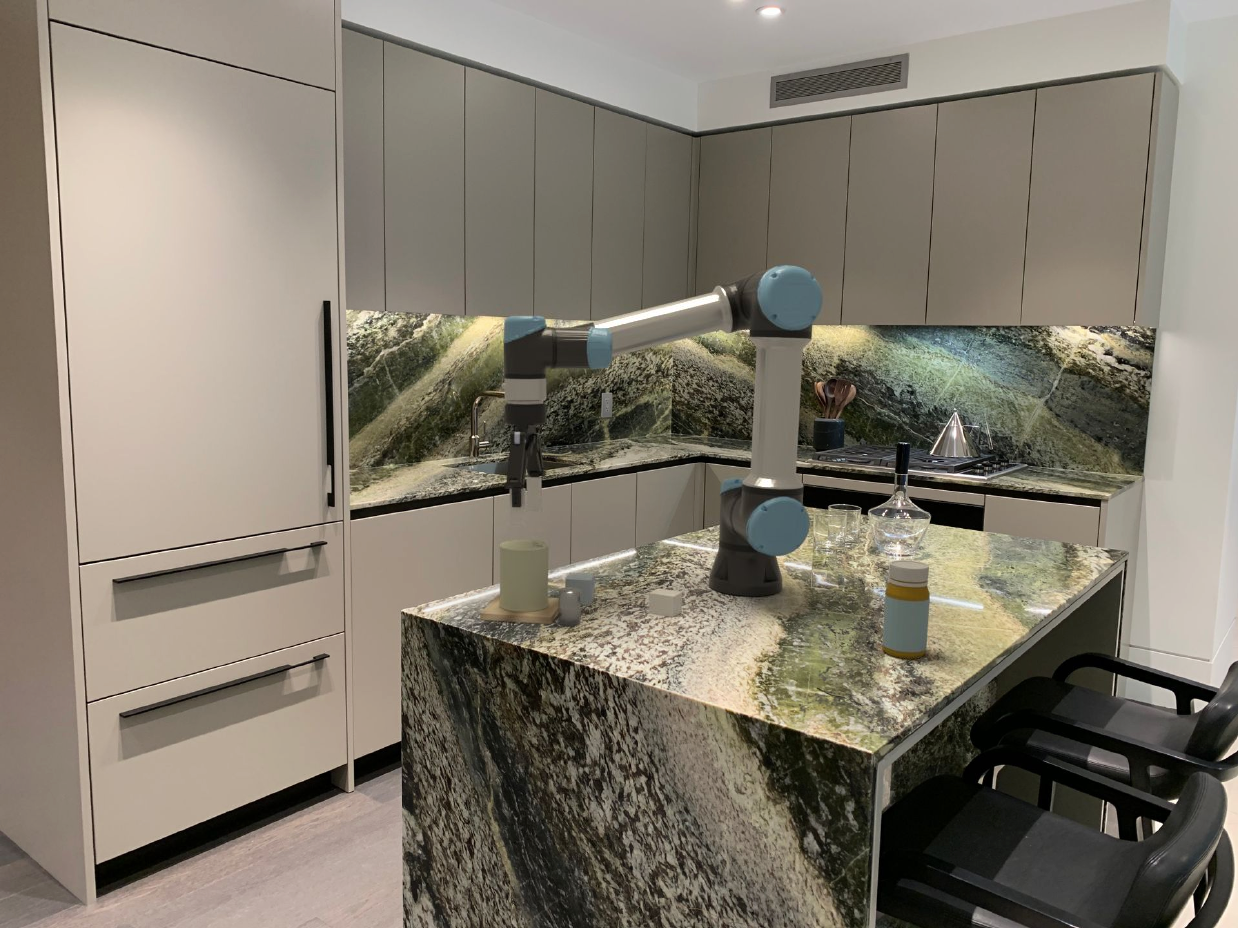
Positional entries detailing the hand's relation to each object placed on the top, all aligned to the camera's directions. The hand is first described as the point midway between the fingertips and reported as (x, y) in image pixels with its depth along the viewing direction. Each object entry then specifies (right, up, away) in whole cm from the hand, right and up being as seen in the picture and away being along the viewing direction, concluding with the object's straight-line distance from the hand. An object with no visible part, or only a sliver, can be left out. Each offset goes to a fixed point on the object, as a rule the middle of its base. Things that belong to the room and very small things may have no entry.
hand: (526, 517), depth 177 cm
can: (-1, -17, +2) cm, 17 cm away
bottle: (+64, -22, -17) cm, 70 cm away
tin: (+8, -19, -4) cm, 21 cm away
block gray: (+9, -17, +10) cm, 22 cm away
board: (-1, -18, +2) cm, 18 cm away
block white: (+26, -18, +4) cm, 32 cm away
